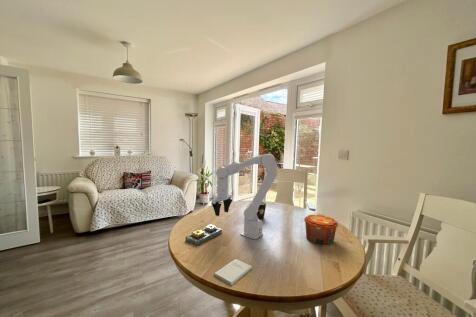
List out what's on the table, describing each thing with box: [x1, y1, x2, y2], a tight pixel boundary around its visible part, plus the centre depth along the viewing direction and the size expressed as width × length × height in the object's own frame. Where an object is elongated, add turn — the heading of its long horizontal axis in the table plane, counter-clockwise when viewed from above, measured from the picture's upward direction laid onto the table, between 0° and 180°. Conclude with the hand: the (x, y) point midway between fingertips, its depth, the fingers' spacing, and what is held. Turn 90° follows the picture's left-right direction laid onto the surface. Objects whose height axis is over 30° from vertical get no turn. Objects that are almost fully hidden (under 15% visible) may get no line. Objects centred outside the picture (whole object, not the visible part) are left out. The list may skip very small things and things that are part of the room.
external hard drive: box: [213, 258, 253, 286], centre depth 77 cm, size 2×8×12 cm
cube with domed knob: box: [204, 224, 217, 233], centre depth 108 cm, size 4×4×4 cm
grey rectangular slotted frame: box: [185, 226, 223, 246], centre depth 105 cm, size 8×18×2 cm, turn 145°
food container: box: [303, 214, 339, 246], centre depth 105 cm, size 16×16×11 cm
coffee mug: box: [257, 200, 267, 221], centre depth 134 cm, size 12×9×10 cm
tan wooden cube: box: [191, 229, 204, 240], centre depth 101 cm, size 4×4×4 cm
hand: (221, 213), depth 112 cm, fingers open, 7 cm apart
